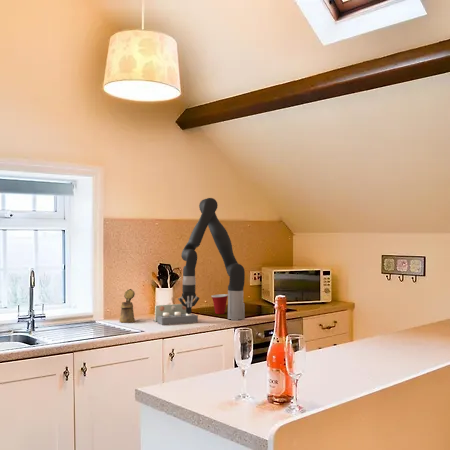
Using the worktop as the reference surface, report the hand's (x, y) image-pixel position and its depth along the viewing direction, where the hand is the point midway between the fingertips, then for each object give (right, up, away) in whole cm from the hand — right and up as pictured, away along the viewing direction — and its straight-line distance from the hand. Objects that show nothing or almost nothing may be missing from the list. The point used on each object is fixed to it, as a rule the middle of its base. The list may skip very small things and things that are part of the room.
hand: (188, 313), depth 327 cm
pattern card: (-10, -5, +5) cm, 12 cm away
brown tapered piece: (-35, -5, +2) cm, 36 cm away
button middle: (-6, -1, -3) cm, 7 cm away
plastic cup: (+17, -5, +33) cm, 37 cm away
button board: (-6, -5, -3) cm, 8 cm away
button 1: (-12, -1, -6) cm, 14 cm away
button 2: (0, -3, 0) cm, 3 cm away
